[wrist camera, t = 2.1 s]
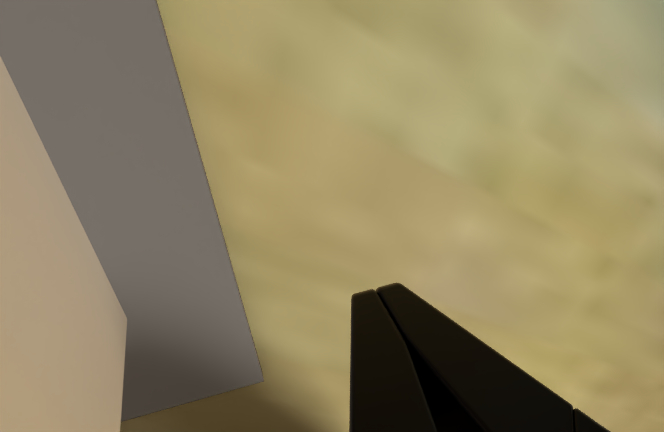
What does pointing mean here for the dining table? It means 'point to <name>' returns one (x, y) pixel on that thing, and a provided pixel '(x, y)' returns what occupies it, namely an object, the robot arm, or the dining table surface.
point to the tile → (51, 296)
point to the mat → (135, 190)
